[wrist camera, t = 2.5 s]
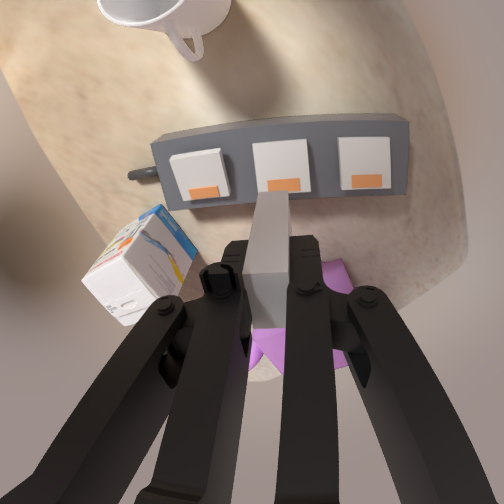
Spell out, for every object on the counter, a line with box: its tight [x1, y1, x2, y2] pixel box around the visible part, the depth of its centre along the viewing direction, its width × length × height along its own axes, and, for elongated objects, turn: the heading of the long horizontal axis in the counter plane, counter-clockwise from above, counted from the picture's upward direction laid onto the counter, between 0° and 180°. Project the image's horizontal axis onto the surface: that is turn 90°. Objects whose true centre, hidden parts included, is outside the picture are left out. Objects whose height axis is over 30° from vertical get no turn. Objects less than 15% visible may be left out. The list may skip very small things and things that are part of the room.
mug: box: [97, 0, 231, 62], centre depth 19 cm, size 12×8×12 cm
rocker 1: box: [169, 148, 231, 201], centre depth 29 cm, size 5×5×1 cm
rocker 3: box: [337, 137, 391, 190], centre depth 27 cm, size 5×5×1 cm
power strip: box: [128, 114, 409, 211], centre depth 31 cm, size 8×32×4 cm, turn 98°
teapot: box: [249, 258, 357, 376], centre depth 38 cm, size 20×10×12 cm, turn 118°
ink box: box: [81, 204, 197, 327], centre depth 36 cm, size 9×8×12 cm
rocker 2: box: [252, 139, 311, 193], centre depth 28 cm, size 5×5×1 cm
